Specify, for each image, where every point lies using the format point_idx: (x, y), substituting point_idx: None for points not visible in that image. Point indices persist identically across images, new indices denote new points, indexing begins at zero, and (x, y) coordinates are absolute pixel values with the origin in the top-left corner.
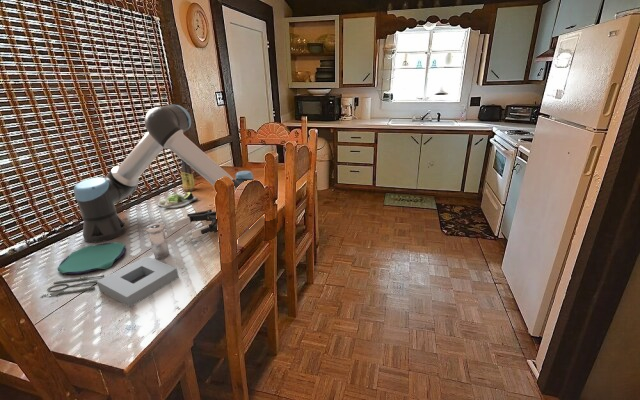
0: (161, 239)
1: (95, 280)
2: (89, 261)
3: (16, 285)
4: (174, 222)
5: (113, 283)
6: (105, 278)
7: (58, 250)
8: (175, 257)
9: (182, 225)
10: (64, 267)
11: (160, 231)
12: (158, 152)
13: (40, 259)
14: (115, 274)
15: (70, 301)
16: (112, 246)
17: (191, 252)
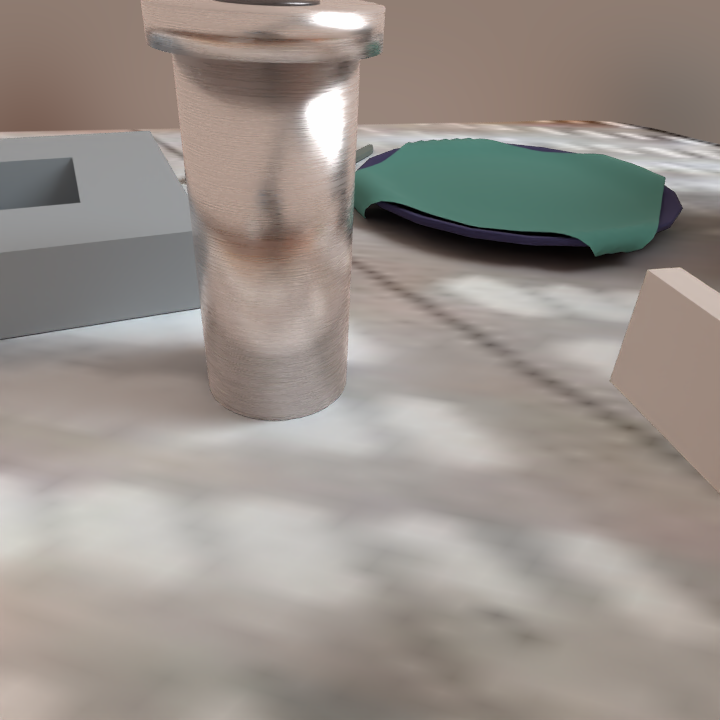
0: (186, 174)
1: None
2: (480, 181)
3: (440, 124)
4: (652, 277)
5: (40, 145)
6: (134, 140)
7: (699, 165)
8: (132, 437)
9: (707, 469)
10: (470, 148)
11: (173, 58)
12: None
13: (625, 146)
14: (129, 154)
15: (176, 156)
16: (622, 223)
17: (56, 590)
